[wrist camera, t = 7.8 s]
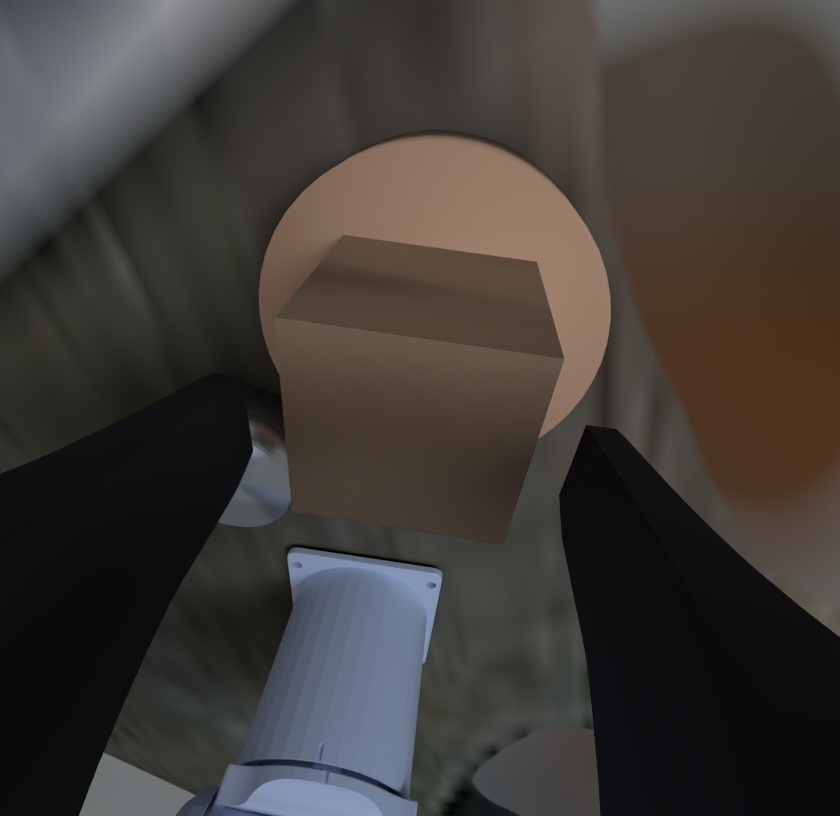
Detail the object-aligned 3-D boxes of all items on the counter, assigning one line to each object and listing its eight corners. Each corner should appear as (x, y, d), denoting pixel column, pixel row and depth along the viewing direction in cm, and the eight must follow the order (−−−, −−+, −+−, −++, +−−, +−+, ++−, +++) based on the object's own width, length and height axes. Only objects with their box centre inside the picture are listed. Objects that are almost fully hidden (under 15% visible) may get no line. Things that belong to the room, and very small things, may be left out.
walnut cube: (497, 416, 15) (503, 544, 11) (342, 393, 15) (292, 511, 11) (536, 261, 12) (564, 358, 8) (344, 234, 12) (273, 317, 8)
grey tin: (315, 482, 21) (295, 534, 19) (210, 467, 22) (175, 517, 19) (310, 393, 18) (284, 442, 16) (187, 376, 19) (143, 422, 16)
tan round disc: (547, 439, 18) (555, 484, 16) (297, 404, 19) (275, 444, 17) (642, 153, 12) (673, 168, 10) (274, 109, 13) (235, 116, 11)
